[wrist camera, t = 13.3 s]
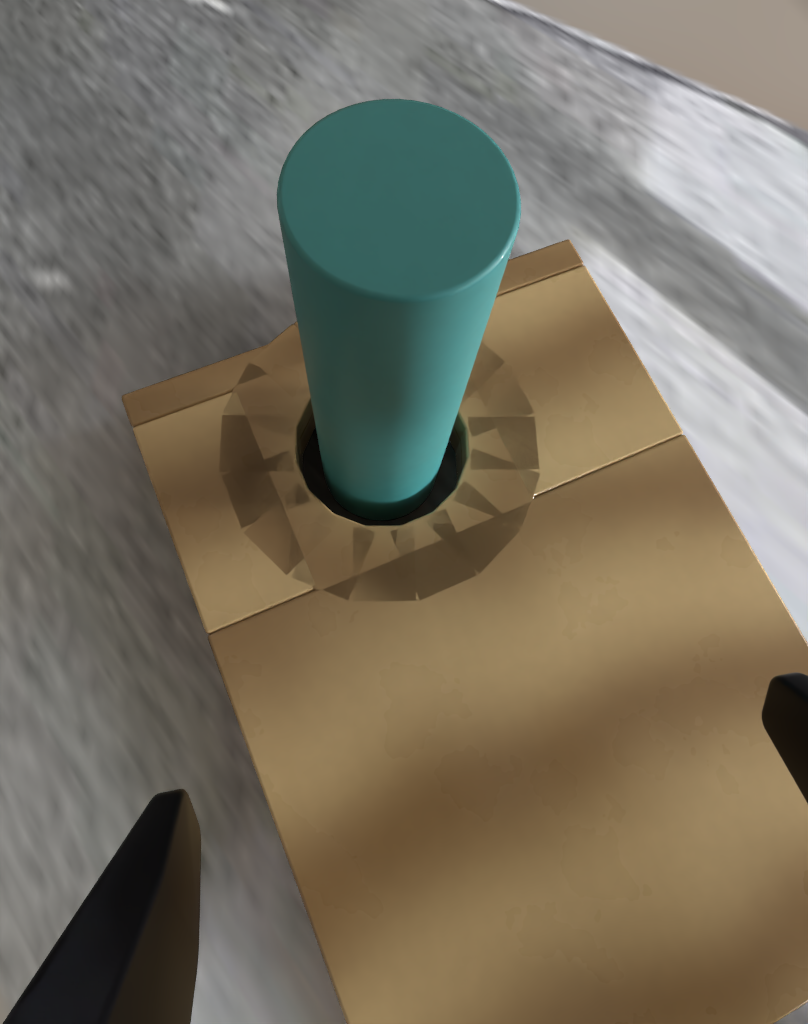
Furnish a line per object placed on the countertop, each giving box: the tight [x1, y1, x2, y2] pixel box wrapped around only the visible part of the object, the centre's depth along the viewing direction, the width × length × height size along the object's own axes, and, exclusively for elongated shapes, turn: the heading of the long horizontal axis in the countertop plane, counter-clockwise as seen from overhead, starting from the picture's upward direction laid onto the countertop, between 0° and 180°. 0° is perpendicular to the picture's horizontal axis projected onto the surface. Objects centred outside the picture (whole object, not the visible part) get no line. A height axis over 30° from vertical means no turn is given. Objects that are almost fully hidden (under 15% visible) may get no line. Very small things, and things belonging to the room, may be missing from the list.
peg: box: [277, 99, 521, 520], centre depth 14 cm, size 3×3×11 cm
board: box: [122, 240, 808, 1024], centre depth 17 cm, size 20×14×2 cm
